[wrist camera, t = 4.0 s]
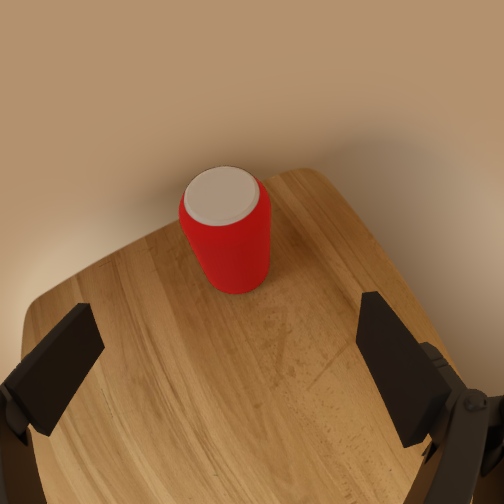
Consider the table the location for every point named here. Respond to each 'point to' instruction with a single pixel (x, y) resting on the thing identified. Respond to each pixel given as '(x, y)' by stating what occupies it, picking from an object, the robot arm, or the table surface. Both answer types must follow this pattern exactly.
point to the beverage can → (228, 227)
